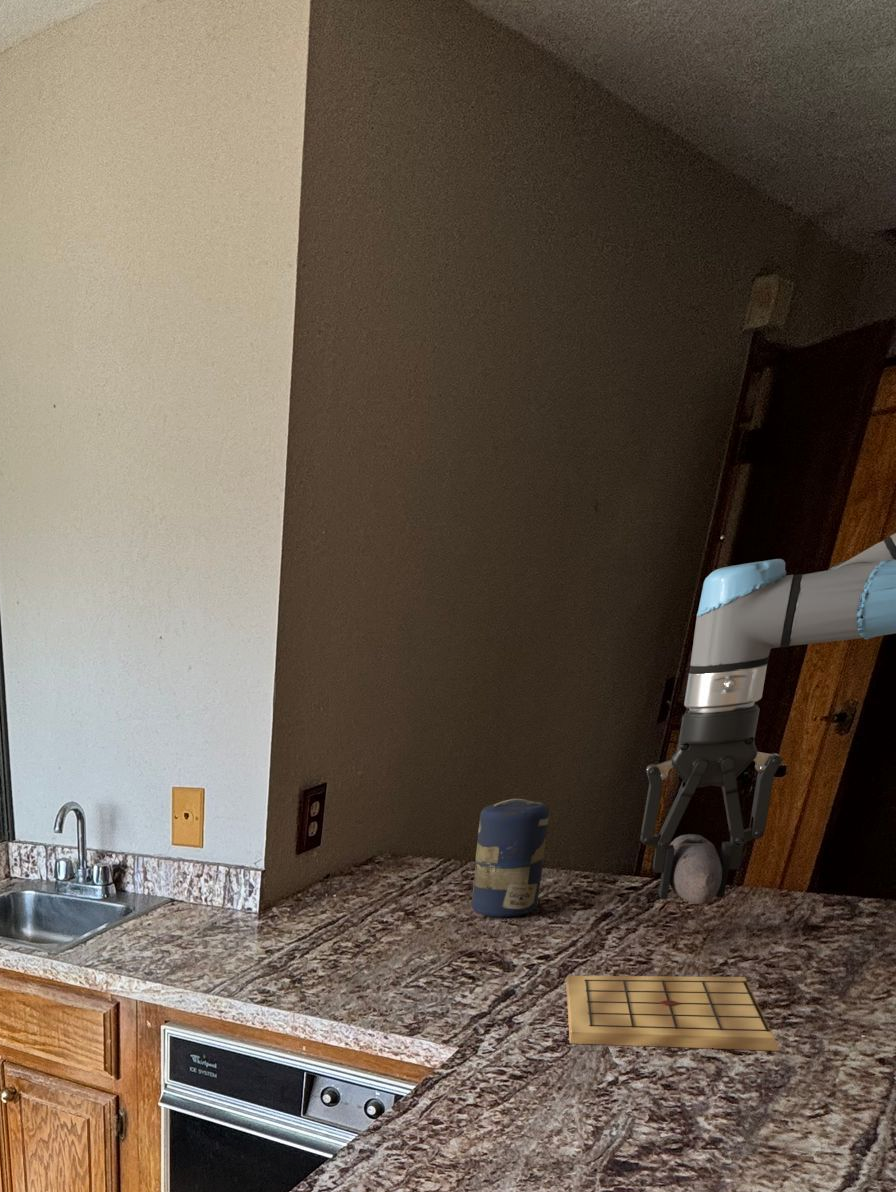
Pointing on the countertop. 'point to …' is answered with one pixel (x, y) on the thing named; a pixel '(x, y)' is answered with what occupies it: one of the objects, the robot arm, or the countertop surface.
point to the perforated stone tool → (695, 869)
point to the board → (666, 1012)
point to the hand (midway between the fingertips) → (690, 895)
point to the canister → (509, 857)
